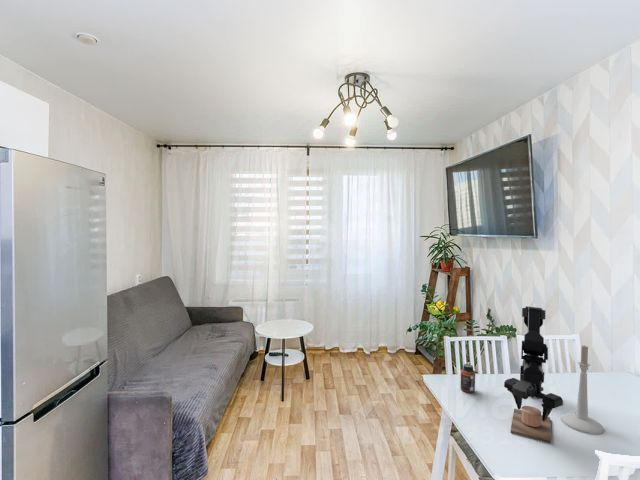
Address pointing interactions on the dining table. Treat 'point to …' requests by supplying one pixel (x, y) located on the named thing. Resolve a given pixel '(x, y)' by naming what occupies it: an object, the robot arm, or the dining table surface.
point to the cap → (531, 416)
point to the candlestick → (582, 403)
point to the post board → (531, 428)
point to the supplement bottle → (468, 378)
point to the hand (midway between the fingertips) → (531, 414)
